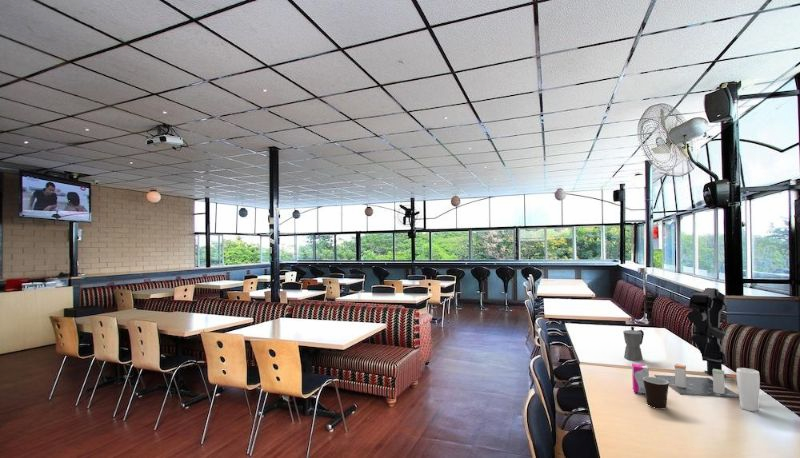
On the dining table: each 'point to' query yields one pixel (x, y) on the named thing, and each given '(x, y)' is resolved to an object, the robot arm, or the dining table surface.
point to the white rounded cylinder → (748, 388)
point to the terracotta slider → (680, 375)
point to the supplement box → (639, 377)
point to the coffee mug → (656, 391)
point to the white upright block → (718, 381)
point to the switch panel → (697, 387)
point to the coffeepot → (633, 344)
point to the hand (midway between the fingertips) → (703, 354)
